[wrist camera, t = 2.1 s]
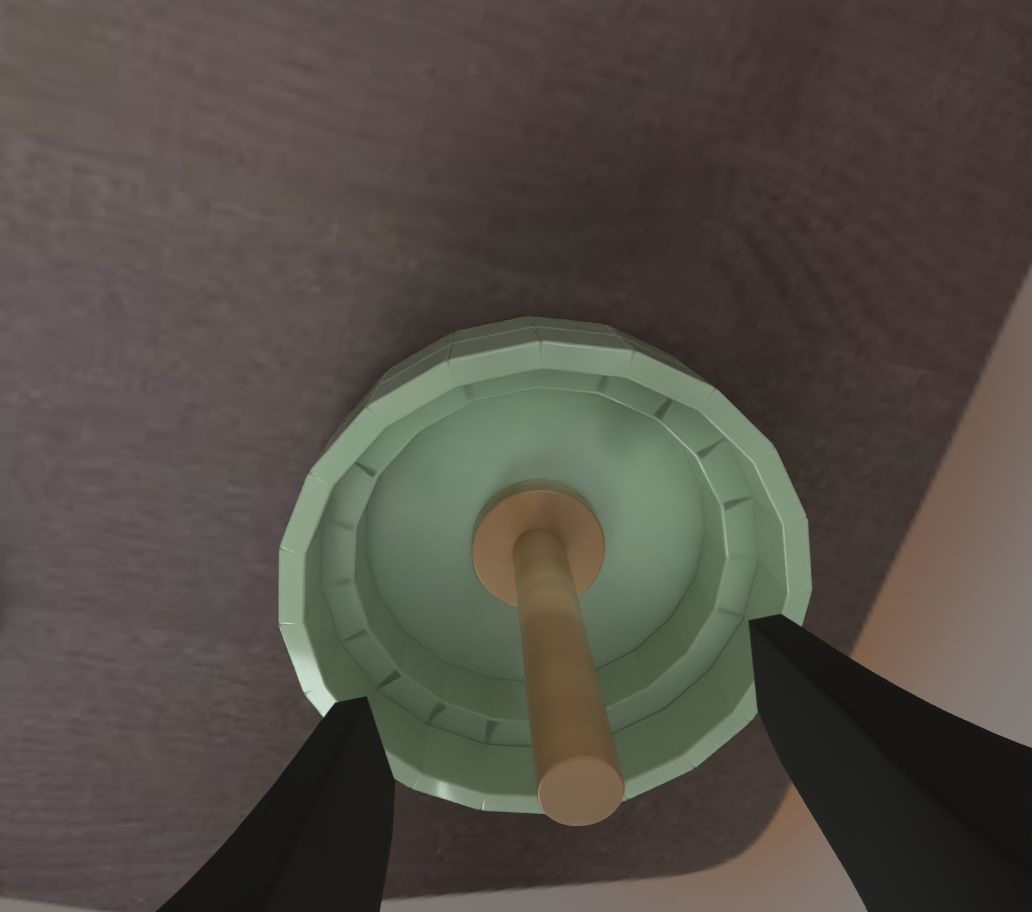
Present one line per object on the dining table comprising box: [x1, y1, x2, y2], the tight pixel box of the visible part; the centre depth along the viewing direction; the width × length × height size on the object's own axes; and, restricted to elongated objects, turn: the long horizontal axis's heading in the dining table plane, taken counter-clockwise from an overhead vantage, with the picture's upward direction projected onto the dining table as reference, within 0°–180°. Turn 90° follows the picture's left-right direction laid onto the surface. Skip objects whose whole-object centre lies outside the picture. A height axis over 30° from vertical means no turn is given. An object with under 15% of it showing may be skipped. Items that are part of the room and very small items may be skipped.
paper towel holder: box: [472, 480, 625, 826], centre depth 15 cm, size 4×4×9 cm
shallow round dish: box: [278, 316, 812, 814], centre depth 18 cm, size 12×12×4 cm
